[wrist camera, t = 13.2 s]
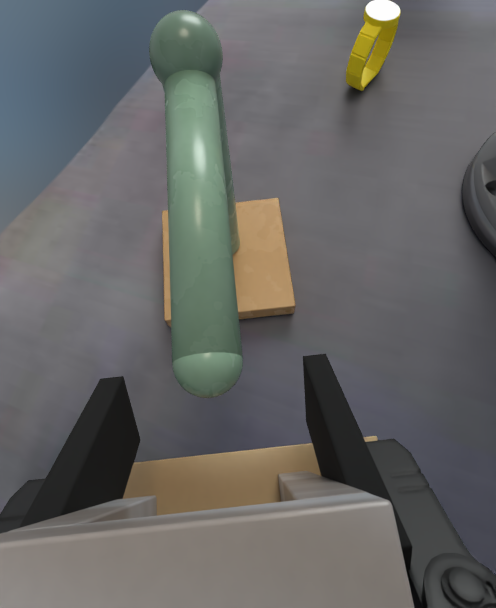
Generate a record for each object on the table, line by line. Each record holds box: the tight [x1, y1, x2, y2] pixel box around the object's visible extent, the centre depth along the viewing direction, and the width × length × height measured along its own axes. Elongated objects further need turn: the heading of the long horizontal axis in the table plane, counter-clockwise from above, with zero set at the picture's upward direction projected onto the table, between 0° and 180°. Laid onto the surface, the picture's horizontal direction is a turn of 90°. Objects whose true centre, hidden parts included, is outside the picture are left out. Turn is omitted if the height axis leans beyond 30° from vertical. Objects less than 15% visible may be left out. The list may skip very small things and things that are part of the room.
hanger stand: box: [149, 10, 295, 398], centre depth 20 cm, size 16×9×17 cm, turn 6°
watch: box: [346, 0, 400, 91], centre depth 33 cm, size 6×3×6 cm, turn 144°
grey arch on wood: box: [0, 436, 415, 608], centre depth 11 cm, size 4×12×13 cm, turn 96°
